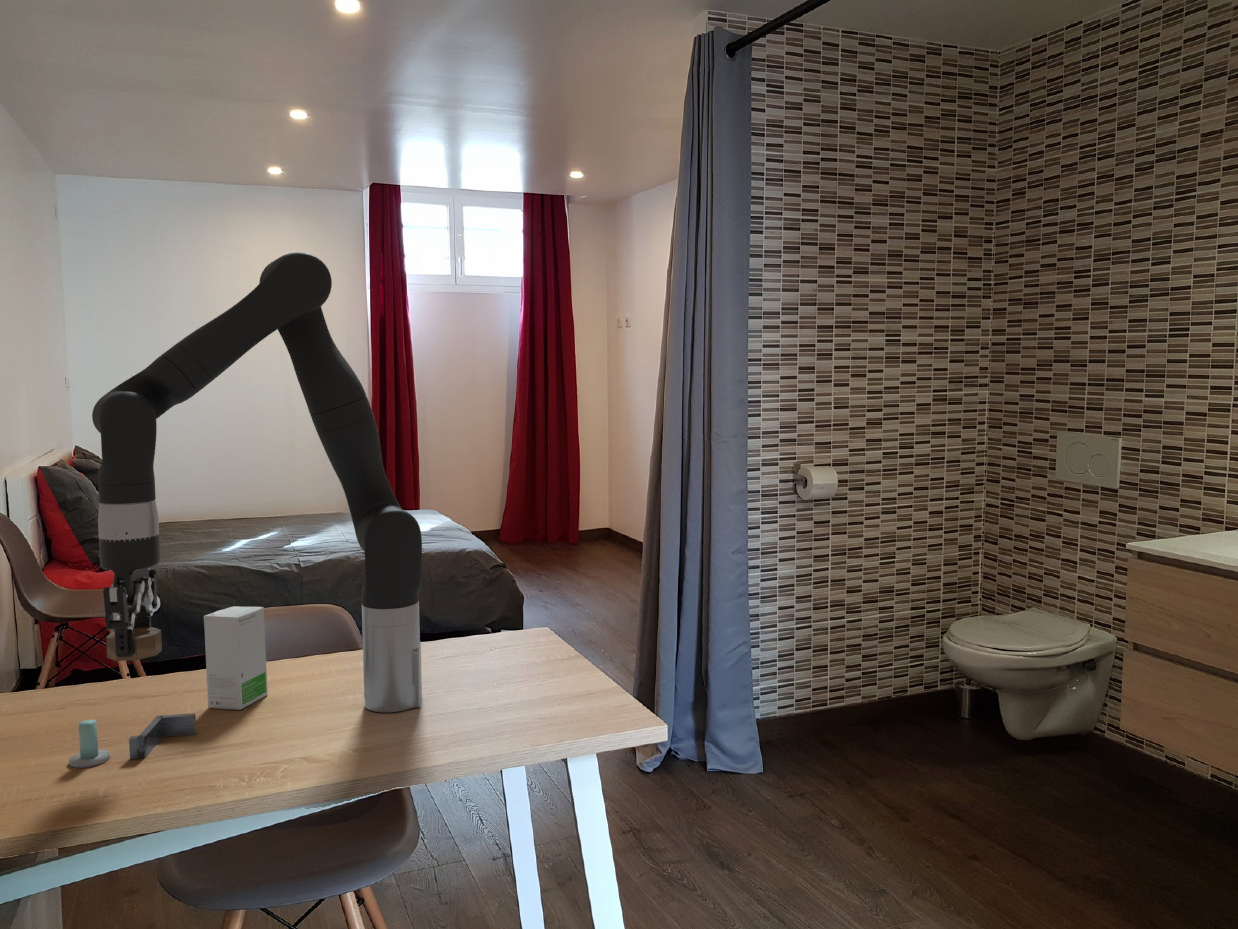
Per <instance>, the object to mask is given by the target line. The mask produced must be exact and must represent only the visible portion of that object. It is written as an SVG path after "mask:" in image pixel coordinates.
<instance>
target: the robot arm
mask: <svg viewBox="0 0 1238 929" xmlns="http://www.w3.org/2000/svg"><path fill="white" fill-rule="evenodd" d="M262 270H263V271H262V272H261V274H260V276H259V281H258V282H259V283H258V284H257V286H256V287H255V288H253V289H252V290H251V291H250V292H249V293H248V294H247V295H245V297H243V298H242V299H240V300H239V301H238V302H237V303H236V304H234V305H233V306H232V307H230V308H228V309H227V310H225V311H224V312H223V313H220V314H219V315H218V316H216V317H214V318H213V319H212V320H209V321H208V322H207V323H205V324H204V325H202V326H200V327H199V328H196V329H195V330H194V331H193V332H190V333H189V334H188V335H186V336H185V337H184V338H182V339H180V341H178V342H177V343H176V344H173V346H171V347H170V348H168V349H167V350H166V351H165V352H163V353H162V354H161V355H159V356H158V357H157V358H155V359H154V360H153V361H152V362H151V363H150V364H148V366H146V367H145V368H144V369H143V370H141V371H139V372H138V373H136V374H135V375H132V376H131V377H129V378H127V379H126V380H124V381H123V382H122V383H120V384H118V385H117V386H115V387H113V388H112V389H111V390H110V391H108V392H106V393H105V394H104V395H103V396H101V397H100V398H99V399H98V401H96V403H95V405H94V407H93V409H92V415H91V418H92V422H93V425H94V427H95V429H96V431H97V432H98V433H99V434H100V445H101V449H100V450H101V463H100V465H99V468H98V474H97V475H98V478H97V479H98V480H97V481H98V482H97V483H98V499H99V500H98V501H99V504H98V505H99V506H98V515H97V516H98V518H97V524H98V525H97V527H98V547H99V565H100V567H101V569H103V570H106V571H111V572H113V581H112V583H111V586H105V587H104V588H103V592H102V593H103V603H104V612H105V613H104V615H105V624H106V626H105V627H106V629H107V630H112V632H115V645H116V655H117V656H118V657H130V656H132V655H133V654H134V653H135V650H134V629H133V628H143V627H152V616H153V614H154V609H157V608H158V571H157V568H153V567H155V566H157V565H159V564H160V562H161V545H160V526H159V522H160V521H159V520H160V519H159V513H158V512H159V511H158V507H157V498H156V479H155V478H156V476H155V470H154V463H155V461H154V460H155V454H156V446H157V444H156V443H157V434H158V432H157V419H158V418H160V417H161V416H162V415H164V414H165V413H166V412H167V411H169V410H170V409H171V408H173V407H174V406H177V405H179V404H182V403H184V402H187V401H188V400H189V399H191V398H192V397H194V396H195V395H196V394H198V393H199V392H200V391H201V390H202V389H204V388H205V387H207V386H208V385H209V384H210V383H211V382H213V381H214V380H215V379H216V378H218V377H219V376H220V375H222V374H223V373H224V372H225V371H226V370H227V369H229V368H230V367H231V366H232V365H233V364H235V363H236V362H237V361H238V360H239V359H241V358H242V357H244V355H245V354H246V353H247V352H249V351H251V349H253V347H255V346H256V345H258V344H259V343H260V342H262V341H263V340H265V339H266V338H267V337H269V336H270V335H271V334H272V333H274V332H276V331H278V333H279V335H280V337H281V339H282V341H283V343H284V345H285V347H286V350H287V352H288V354H289V356H290V360H291V363H292V366H293V369H294V373H295V376H296V378H297V381H298V384H299V387H300V390H301V393H302V395H303V398H304V400H305V403H306V407H307V409H308V412H309V415H310V419H311V420H312V423H313V426H314V429H315V431H316V432H317V435H318V438H319V440H320V443H321V445H322V447H323V448H324V449H323V450H324V453H325V454H326V456H327V458H328V461H329V462H330V465H331V466H332V469H333V471H334V472H335V474H336V477H337V478H338V480H339V482H340V484H341V487H342V489H343V493H344V496H345V498H346V502H347V506H348V510H349V513H350V516H351V520H352V525H353V528H354V533H355V537H356V540H357V543H358V544H359V545H358V546H359V547H360V548H361V549H362V551H363V552H364V584H363V586H362V588H361V591H360V592H361V593H360V594H361V623H362V626H361V628H362V660H363V665H362V666H363V685H364V686H363V697H364V707H365V709H367V710H369V711H371V712H372V711H373V712H375V713H376V712H377V713H396V712H403V711H407V710H410V709H414V708H415V709H417V708H421V705H422V697H423V681H422V651H421V650H422V643H421V640H420V637H421V634H420V633H421V632H420V589H421V586H422V579H423V540H422V538H423V537H422V530H421V528H420V525H419V522H418V521H417V519H416V518H415V517H414V516H413V515H412V514H411V513H409V512H408V511H406V510H405V509H402V507H401V504H400V503H399V501H398V499H397V498H396V495H395V493H394V491H393V488H392V486H391V484H390V483H389V479H388V478H387V474H386V472H385V471H386V470H385V467H384V463H383V456H382V447H381V441H380V433H379V428H378V424H377V422H376V419H375V415H374V413H373V410H372V407H371V404H370V401H369V398H368V396H367V393H366V391H365V389H364V387H363V385H362V382H361V381H360V379H359V378H358V376H357V374H356V372H355V371H354V370H353V368H352V367H351V365H350V363H348V361H347V359H346V358H345V357H344V356H343V354H342V353H341V352H340V350H339V348H338V346H337V344H336V343H335V342H334V339H333V338H332V336H331V333H330V330H329V327H328V324H327V321H326V318H325V315H324V312H323V308H322V307H323V305H324V304H325V303H326V302H327V300H328V299H329V297H330V294H331V292H332V286H333V285H332V284H333V281H332V276H331V273H330V270H329V268H328V266H327V265H326V264H325V263H324V262H323V261H322V260H321V259H320V258H319V257H317V256H316V255H313V254H311V253H308V252H300V251H297V252H288V253H286V254H284V255H282V256H279V257H278V258H276V259H274V260H273V261H271V262H270V263H268V264H267V265H266V266H265V267H264V268H263V269H262ZM120 618H121V619H120Z"/></svg>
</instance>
